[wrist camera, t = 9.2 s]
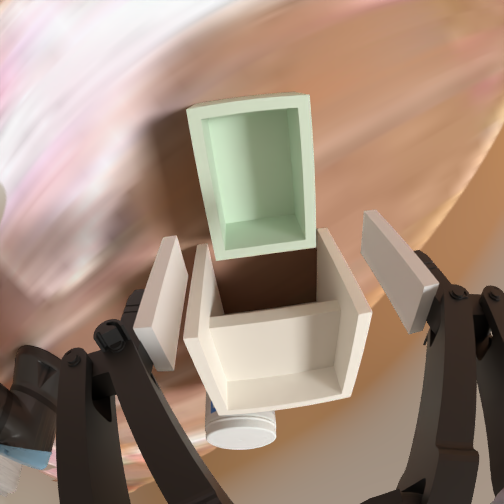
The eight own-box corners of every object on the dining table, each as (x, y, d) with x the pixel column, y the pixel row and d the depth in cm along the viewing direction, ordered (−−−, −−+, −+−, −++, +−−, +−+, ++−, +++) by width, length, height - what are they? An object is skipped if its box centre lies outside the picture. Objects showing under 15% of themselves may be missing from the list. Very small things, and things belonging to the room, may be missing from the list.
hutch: (219, 328, 41) (218, 415, 30) (197, 244, 34) (182, 338, 22) (323, 313, 41) (350, 396, 30) (326, 227, 34) (372, 311, 22)
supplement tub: (222, 329, 42) (222, 421, 29) (278, 345, 44) (292, 431, 32) (198, 364, 46) (194, 445, 34) (249, 377, 49) (255, 453, 37)
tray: (218, 230, 33) (216, 260, 28) (195, 104, 25) (186, 109, 20) (302, 219, 33) (316, 247, 28) (294, 91, 25) (309, 94, 20)
